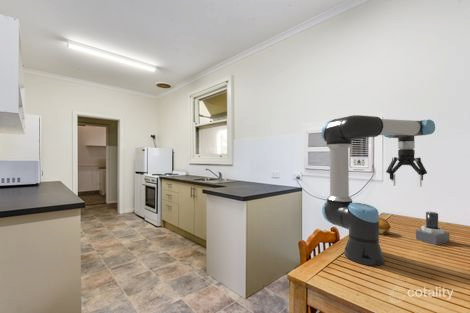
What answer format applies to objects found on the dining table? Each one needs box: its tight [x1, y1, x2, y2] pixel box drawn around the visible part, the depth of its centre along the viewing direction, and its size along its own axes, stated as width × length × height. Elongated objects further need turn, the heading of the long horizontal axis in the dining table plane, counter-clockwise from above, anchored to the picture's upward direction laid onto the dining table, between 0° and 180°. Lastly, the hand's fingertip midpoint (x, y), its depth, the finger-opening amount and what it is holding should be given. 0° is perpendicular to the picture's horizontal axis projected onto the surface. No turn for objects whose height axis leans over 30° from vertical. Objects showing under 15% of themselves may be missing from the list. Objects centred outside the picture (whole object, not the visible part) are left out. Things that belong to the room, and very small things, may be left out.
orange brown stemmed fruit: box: [379, 217, 391, 235], centre depth 133 cm, size 10×11×10 cm
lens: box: [425, 211, 439, 230], centre depth 120 cm, size 5×5×10 cm
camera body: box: [415, 224, 451, 246], centre depth 120 cm, size 13×9×7 cm
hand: (406, 185), depth 126 cm, fingers open, 13 cm apart
